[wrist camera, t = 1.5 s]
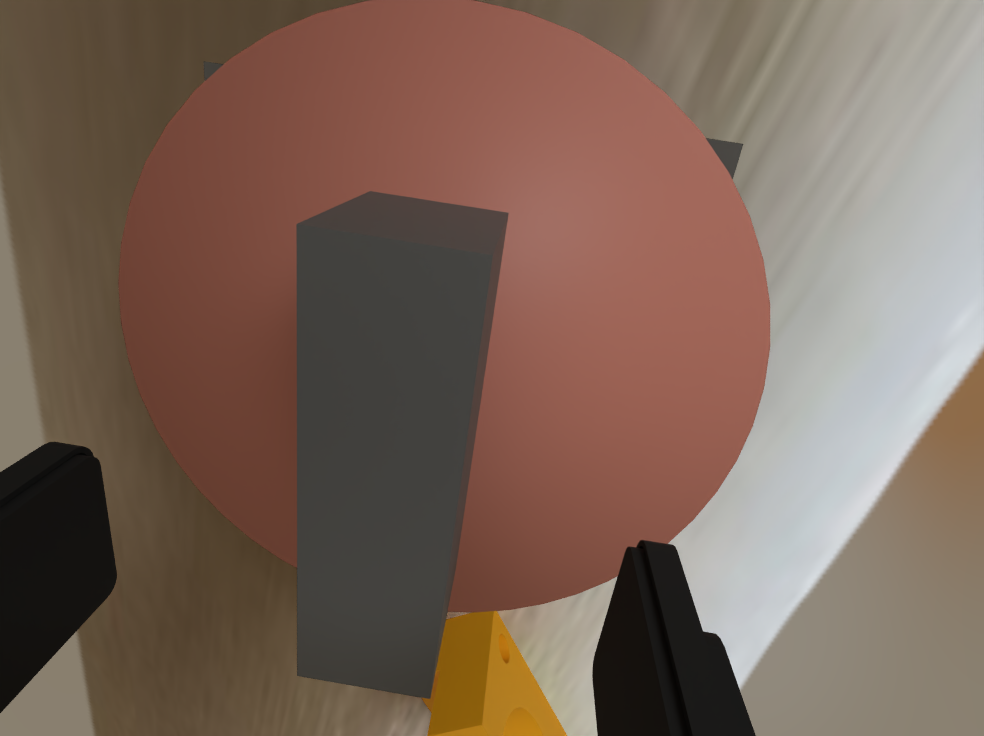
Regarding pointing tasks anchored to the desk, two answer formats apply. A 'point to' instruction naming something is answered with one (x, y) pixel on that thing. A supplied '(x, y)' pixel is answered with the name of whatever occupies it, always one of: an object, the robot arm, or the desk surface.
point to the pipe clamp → (486, 684)
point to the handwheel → (441, 317)
